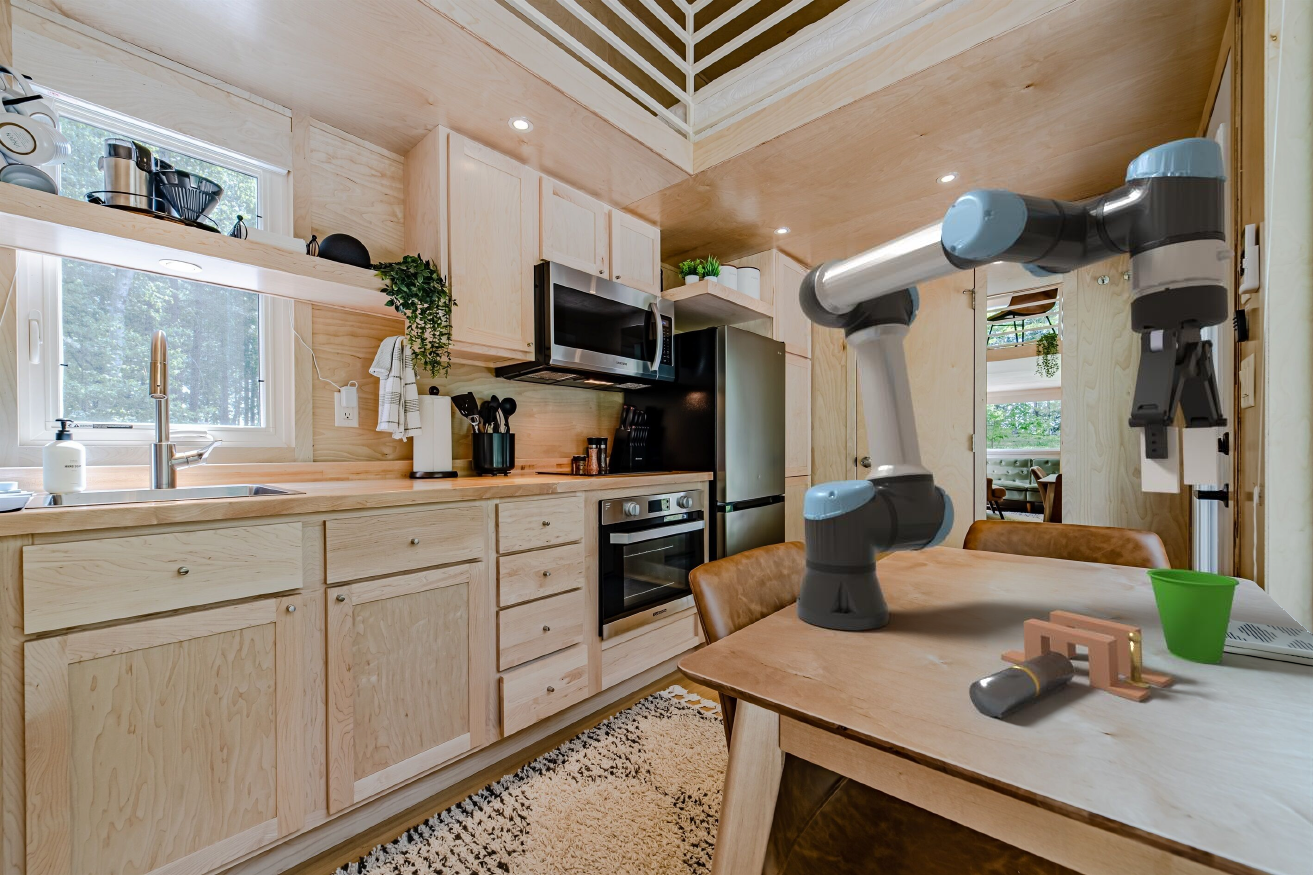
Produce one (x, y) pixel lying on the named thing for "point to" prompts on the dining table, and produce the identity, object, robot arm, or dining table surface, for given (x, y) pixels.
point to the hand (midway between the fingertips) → (1182, 488)
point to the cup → (1194, 612)
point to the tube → (1021, 684)
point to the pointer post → (1135, 661)
